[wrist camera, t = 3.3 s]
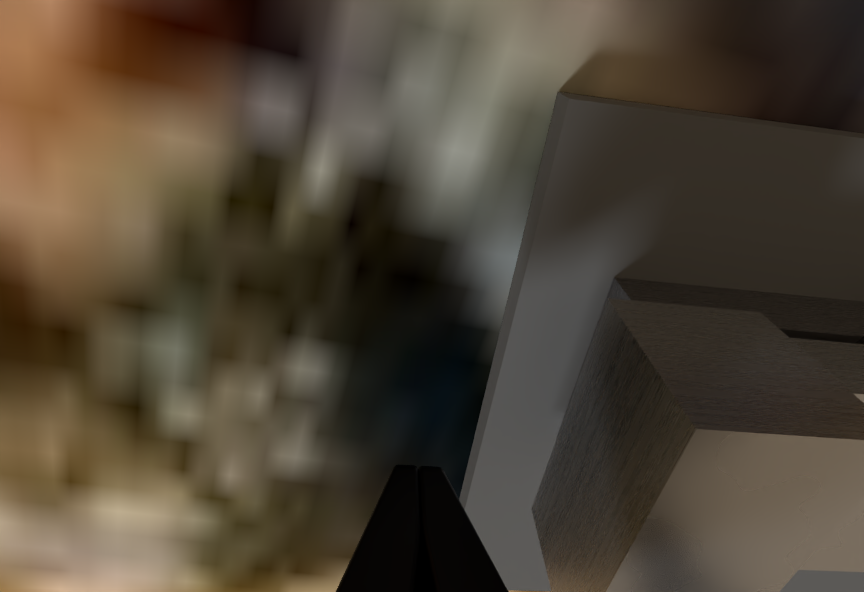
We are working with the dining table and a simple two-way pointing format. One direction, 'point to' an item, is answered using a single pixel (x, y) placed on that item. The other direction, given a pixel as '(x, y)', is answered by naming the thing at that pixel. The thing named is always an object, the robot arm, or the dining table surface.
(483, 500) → the gray rectangular board
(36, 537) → the dining table surface
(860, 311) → the grey slotted plate
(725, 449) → the metal latch plate
